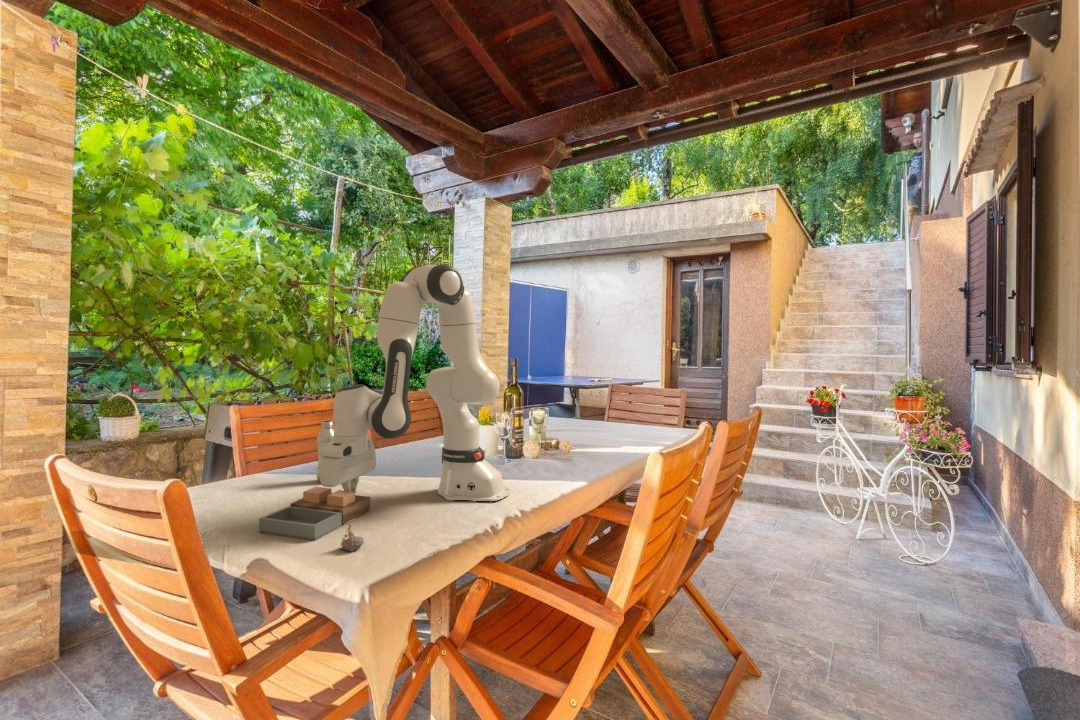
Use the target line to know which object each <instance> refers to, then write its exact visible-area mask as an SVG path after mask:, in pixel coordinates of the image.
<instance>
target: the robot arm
mask: <svg viewBox="0 0 1080 720" xmlns="http://www.w3.org/2000/svg"><path fill="white" fill-rule="evenodd" d="M382 298H383V299H382V301H381V304H380V309H379V315H378V320H377V325H376V327H377V329H376V332H377V333H376V335H377V337H376V338H377V339H376V341H377V344H378V346H379V348H380V349H381V351H382V354H383V357H384V359H385V373H384V382H383V389H382V394H381V393H379V392H377V391H374V390H372V389H370V388H369V387H367V386H366V385H365V384H361V383H360V384H351V385H346V386H342V387H340V388H339V389H338V390H337V391H336V392H335V394H334V395H335V396H334V399H333V400H334V401H333V416H332V417H333V423H334V428H333V429H334V432H333V439H331V440H330V441H329V442H328V443H327V444H326V445H325V446H323V447H322V448H321V450H320V455H321V456H324V457H323V458H322V460H321V463H320V481H319V482H320V484H321V486H322V487H324V488H334V487H337V486H340V485H341V487H342V489H343V491H351V492H355V494H357V487H358V484H359V481H360V477H362V476H365V475H367V474H369V473H371V472H375V471H376V468H377V454H376V448H375V446H374V442H373V441H372V440H371V439H370V438H369V437H368V436H369V433H368V432H369V430H374V432H375V433H376V434H377V435H378V436H379V437H382V438H383V439H389V440H390V439H392V440H393V439H397V438H399V437H401V436H403V435H404V434H405V433H407V431H408V430H409V428H410V425H411V424H412V413H411V409H410V406H409V401H408V397H409V394H408V393H409V384H410V377H411V370H412V369H411V366H412V358H413V354H414V351H415V345H416V340H417V336H418V331H419V326H420V317H421V311H422V309H423V307H424V306H425V305H426V304H434V305H435V307H436V308H437V311H438V322H439V335H440V346H441V347H440V348H441V350H442V352H443V353H444V354H445V355H447V357H449V358H450V360H451V361H452V363H453V365H454V367H452V366H443V367H437V368H435V369H433V370H431V371H430V372H429V374H428V375H427V377H426V383H425V386H426V387H425V389H426V391H427V393H428V395H429V396H430V397H431V398H432V399H433V401H434V402H435V403H436V405H437V408H438V410H439V412H440V416H441V418H442V419H441V421H442V429H443V430H442V431H443V446H442V447H441V464H442V467H441V468H442V469H441V476H440V482H439V485H438V487H437V488H438V489H437V491H436V492H437V494H438V495H440V496H441V497H443V498H445V499H446V501H454V500H477V501H497V500H500V499H502V500H504V499H505V498H504V497H506V496H507V495H508V494H509V493H510V492H511V489H510V487H508V486H504V482H503V476H502V473H501V471H499V470H498V469H497V468H495V466H493V465H492V464H491V463H489V462H488V460H487V459H485V454H486V453H487V449H482V448H481V447H480V422H479V420H478V419H477V418H476V417H475V416H474V415H473V414H472V413H471V411H470V409H469V407H468V405H473V406H474V405H476V406H477V405H478V406H479V405H486V404H492V403H493V402H495V400H496V399H497V398H498V396H499V393H500V390H501V389H500V388H501V385H500V380H499V377H498V376H497V375H496V374H495V372H494V371H492V370H491V369H490V368H489V367H488V365H487V363H486V362H485V360H484V359H483V356H482V354H481V351H480V348H479V341H478V333H477V321H476V311H475V306H474V302H473V298H472V294H471V293H470V291H469V290H468V289H466V288H465V286H464V281H463V279H462V276H461V274H460V272H459V270H457V269H456V268H455V267H453V266H451V265H448V264H426V265H422V266H416V267H415V266H414V267H413V268H410V269H408V270H407V271H406V272H405V273H404V274H403V276H402V277H401V279H400V281H395V282H393V283H391V284H389V285H388V286H387V288H386V290H385V292H384V296H383V297H382ZM509 495H510V494H509ZM509 495H508V496H509ZM508 496H507V497H508ZM507 497H506V498H507ZM503 498H504V499H503ZM445 499H444V500H445ZM500 501H501V500H500ZM497 502H498V501H497Z"/></svg>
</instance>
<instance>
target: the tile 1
mask: <svg viewBox="0 0 1080 720" xmlns="http://www.w3.org/2000/svg"><path fill="white" fill-rule="evenodd" d="M331 492H332V487H324V486H315V487H311V488H308V489H307V490H303V491H302V499H303V501H308V502H316V503H320V502H322V501H324V500H327V495H329V494H331Z"/></svg>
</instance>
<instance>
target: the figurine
mask: <svg viewBox="0 0 1080 720" xmlns="http://www.w3.org/2000/svg"><path fill="white" fill-rule="evenodd" d="M347 524H348V527H347V530H345V533H344V534H343V536H342V538H341V542H340V547H341V550H345V551H347V552H349V551H353V552H355V551H357V550H356V549H358V548H359V549H360V548H361V547H362V545H364V542H365V539H364V538H363V537H361V536H355V534H354V532H353V531H352V525H351V524H350V523H347ZM346 533H347V534H346ZM359 549H358V550H359ZM354 550H355V551H354Z"/></svg>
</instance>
